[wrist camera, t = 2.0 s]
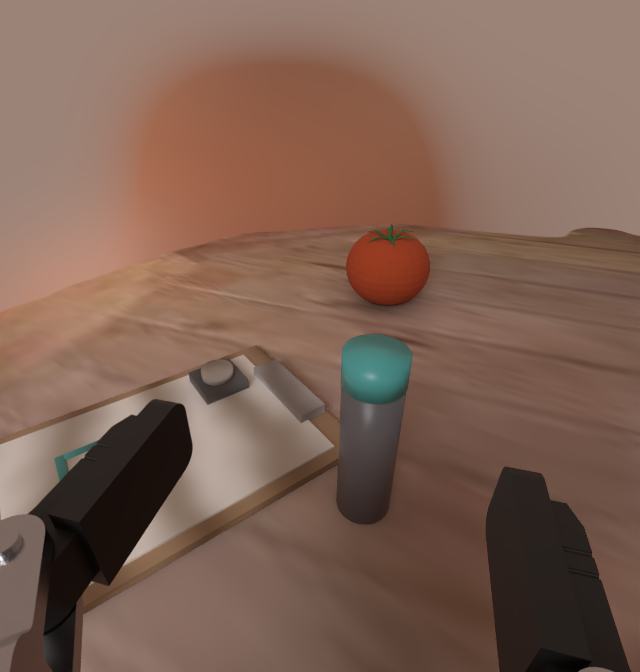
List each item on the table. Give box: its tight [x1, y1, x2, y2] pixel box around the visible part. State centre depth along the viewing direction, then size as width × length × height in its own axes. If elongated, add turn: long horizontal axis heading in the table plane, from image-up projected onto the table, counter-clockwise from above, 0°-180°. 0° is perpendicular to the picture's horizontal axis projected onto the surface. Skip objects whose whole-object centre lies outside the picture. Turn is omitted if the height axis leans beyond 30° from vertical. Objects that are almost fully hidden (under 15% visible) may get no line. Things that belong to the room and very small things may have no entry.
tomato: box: [346, 225, 430, 305], centre depth 51 cm, size 10×10×10 cm
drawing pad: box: [0, 346, 340, 614], centre depth 32 cm, size 24×17×3 cm
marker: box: [337, 334, 412, 524], centre depth 25 cm, size 4×4×12 cm
